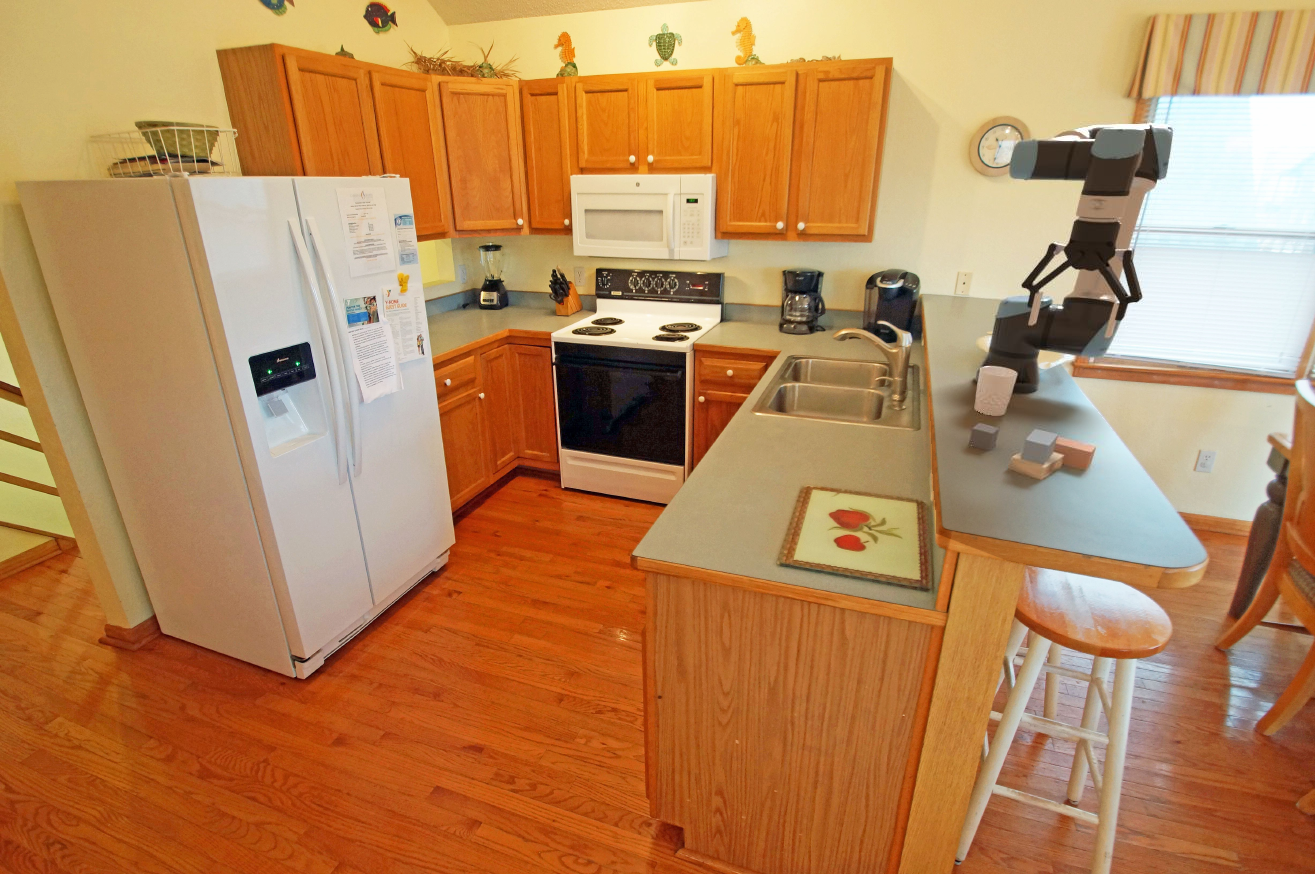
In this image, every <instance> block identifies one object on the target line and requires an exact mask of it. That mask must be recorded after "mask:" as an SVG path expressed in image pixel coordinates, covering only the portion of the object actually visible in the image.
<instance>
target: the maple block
mask: <svg viewBox="0 0 1315 874" xmlns="http://www.w3.org/2000/svg"><path fill="white" fill-rule="evenodd" d="M1022 452H1023V450H1021V451H1020V452H1018V453H1016V454H1015V455H1012V456H1011V459H1010V462H1009V466H1008V470H1011V471H1014V472H1016V473H1019V474H1022V475H1026V476H1028V477H1031V478H1034V479H1037V480H1040V481H1042V480H1044V479H1045V478H1046V477H1048V476H1050V475H1051V474H1053V473H1055V472H1056V471H1057V470H1059V469H1060V468H1062V465H1063V464H1062V462H1063V459H1064V455H1062V454H1059V453H1056V452H1053V454H1052V455H1051V456H1050V458H1049V459H1048V460H1047V462H1046V463H1045V464H1044V465H1042V464H1038V463H1035V462H1031V461H1027V460H1024V459H1021V456H1022Z"/></svg>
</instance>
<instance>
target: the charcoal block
mask: <svg viewBox="0 0 1315 874" xmlns="http://www.w3.org/2000/svg"><path fill="white" fill-rule="evenodd" d="M999 431H1000V427H996V426H992V425H988V424H986V423H981V422H978V423H977V424H976V425H975V426H973V427H972V429H971V433H970V438H969V443H968V446H969V445H972V446H971V447H973V446H975V447H974V448H976V447H978V448H977V449H980V448H981V449H980V450H983V449H984V451H986V452H989V451H991V450H992V449H993V448H994V447H995V446H996V443H997V439H998V436H999Z"/></svg>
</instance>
